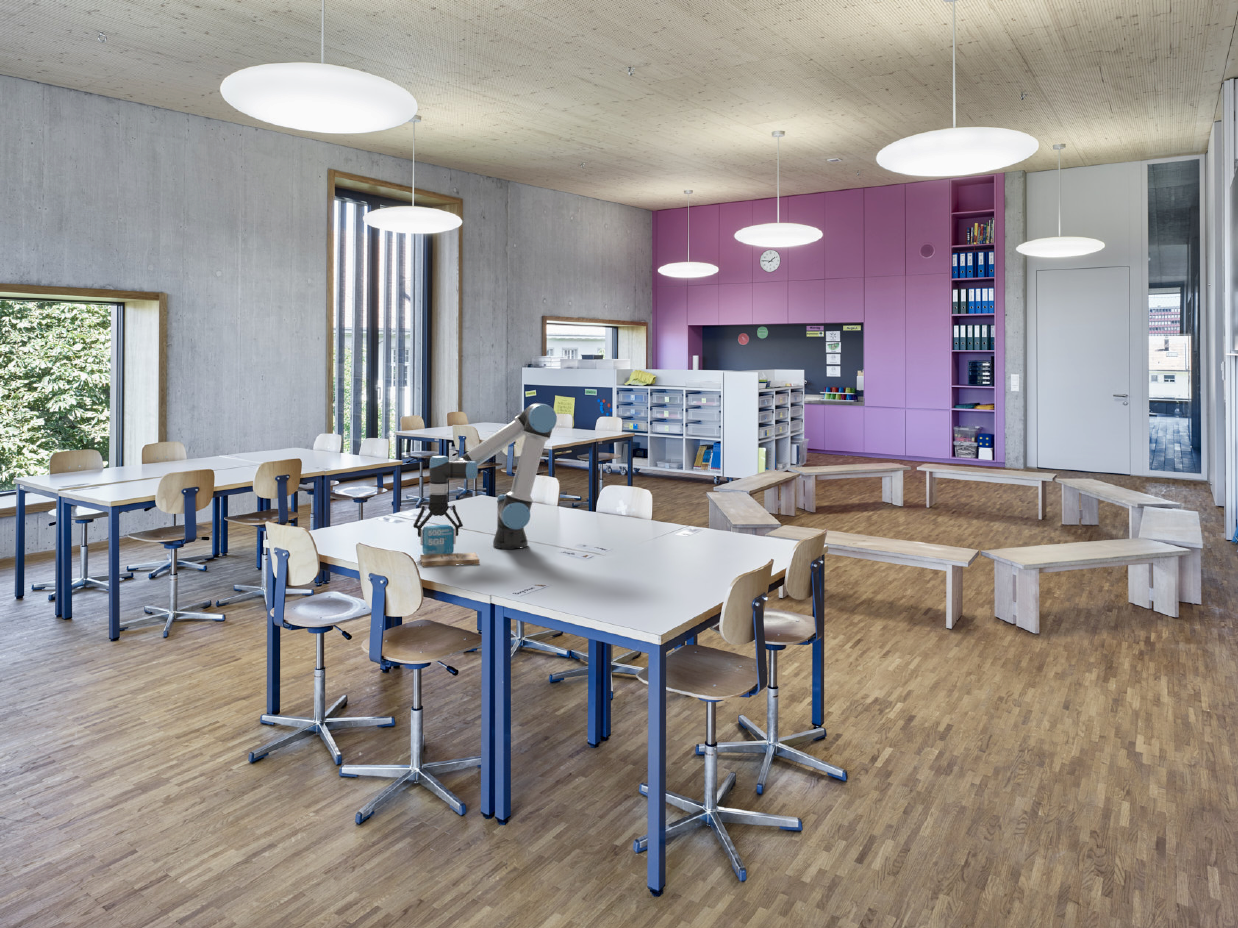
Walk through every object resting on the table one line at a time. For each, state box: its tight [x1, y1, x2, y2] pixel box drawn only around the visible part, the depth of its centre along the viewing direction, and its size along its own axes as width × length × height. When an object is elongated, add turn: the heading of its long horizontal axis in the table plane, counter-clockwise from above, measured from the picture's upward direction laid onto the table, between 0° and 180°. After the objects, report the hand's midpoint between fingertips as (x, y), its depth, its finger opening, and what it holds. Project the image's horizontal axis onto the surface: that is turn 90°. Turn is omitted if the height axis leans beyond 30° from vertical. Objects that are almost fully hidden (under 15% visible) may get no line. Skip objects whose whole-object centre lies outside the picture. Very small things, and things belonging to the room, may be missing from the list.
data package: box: [422, 524, 455, 555], centre depth 346 cm, size 12×4×12 cm, turn 124°
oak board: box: [419, 552, 480, 567], centre depth 333 cm, size 22×13×2 cm, turn 107°
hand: (438, 544), depth 346 cm, fingers closed on data package, 13 cm apart
